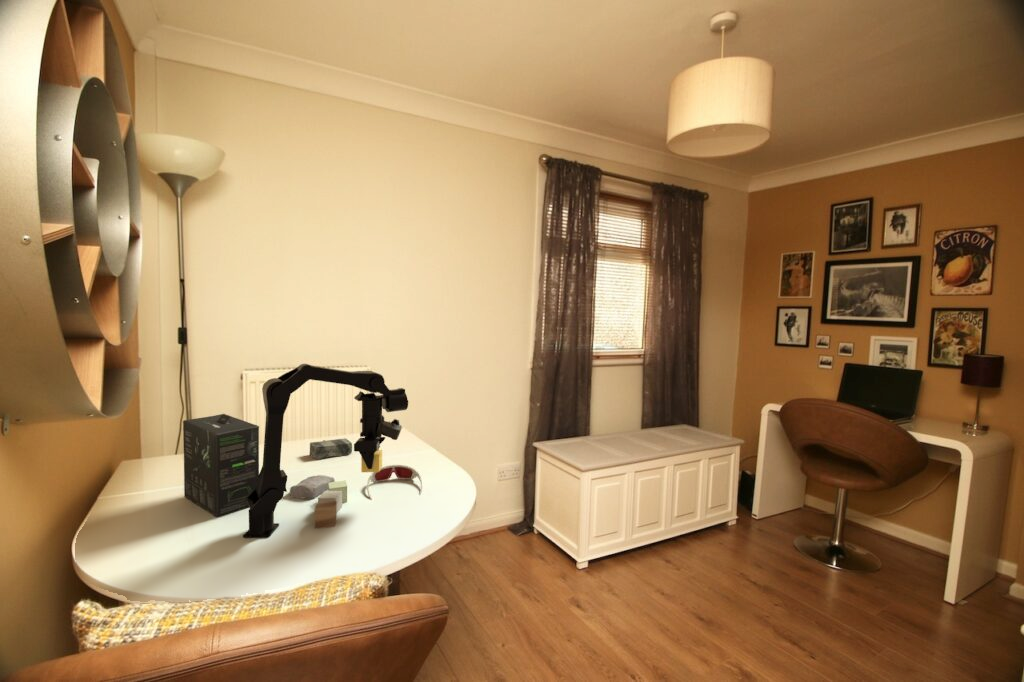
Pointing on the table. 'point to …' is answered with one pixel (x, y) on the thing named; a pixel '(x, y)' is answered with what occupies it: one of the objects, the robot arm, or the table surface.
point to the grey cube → (331, 498)
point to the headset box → (220, 462)
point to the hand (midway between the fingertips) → (371, 465)
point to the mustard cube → (376, 463)
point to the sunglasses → (399, 470)
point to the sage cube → (339, 488)
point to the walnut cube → (325, 514)
